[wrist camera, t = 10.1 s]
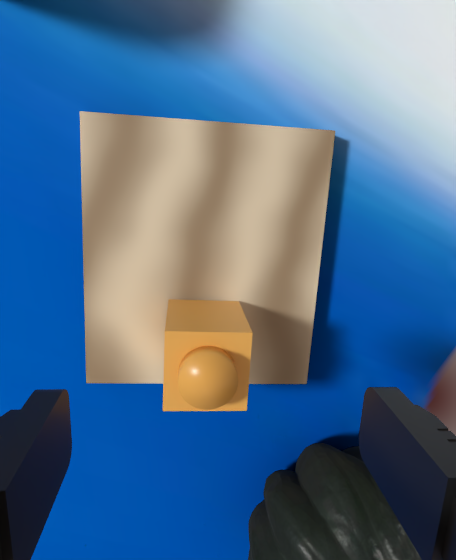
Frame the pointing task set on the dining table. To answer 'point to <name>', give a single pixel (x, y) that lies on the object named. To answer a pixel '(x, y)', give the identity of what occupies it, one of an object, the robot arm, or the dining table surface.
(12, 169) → the dining table surface
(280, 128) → the board
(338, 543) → the squash
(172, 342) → the cube with dome
